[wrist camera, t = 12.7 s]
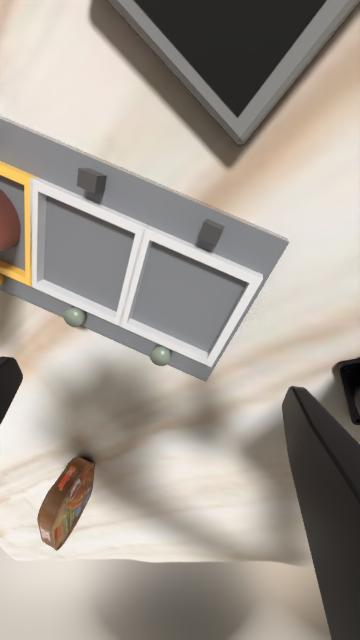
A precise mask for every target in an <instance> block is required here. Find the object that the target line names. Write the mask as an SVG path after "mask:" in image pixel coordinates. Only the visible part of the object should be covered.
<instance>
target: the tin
mask: <svg viewBox="0 0 360 640" xmlns="http://www.w3.org/2000/svg"><path fill="white" fill-rule="evenodd" d="M94 466H95V465H94V463H93V462H89V461H87V460H85V459H83V458H81V457H76V458H74V459H72V460H71V461H70V462H69V463H68V465H67V466H66V468H65V470H64V471H63V472H62V474H61V475H60V477H59V478H58V479H57V481H56V482H55V484H54V485H53V486H52V487H51V489H50V490H49V491H48V493H47V495H46V497H45V499H44V501H43V503H42V505H41V508H40V510H39V514H38V525H39V529H40V533H41V538H42V541H43V542H44V543H46V544H48V545H49V546H51V547H53V548H54V549H55V550H56V551H57V550H58V549H60V548H61V546H62V545H63V544H64V543H65V541H66V540H67V538H68V537H69V535H70V534H71V532H72V530H73V529H74V527H75V525H76V524H77V522H78V520H79V518H80V516H81V514H82V512H83V510H84V508H85V506H86V504H87V502H88V500H89V497H90V494H91V491H92V487H93V476H94Z"/></svg>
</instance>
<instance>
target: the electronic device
mask: <svg viewBox="0 0 360 640" xmlns="http://www.w3.org/2000/svg"><path fill="white" fill-rule="evenodd" d="M108 1H109V2H110V3H111V5H112V6H113V7H114V8H115V9H116V10H117V11H118V12H119V13H120V14H121V16H122V17H123V18H124V19H125V20H126V21H127V22H128V23H129V24H130V26H131V27H132V28H133V29H134V30H135V31H136V32H137V33H138V34H139V36H140V37H141V38H142V39H143V40H144V41H145V42H146V43H147V44H148V46H149V47H150V48H151V49H152V50H153V51H154V52H155V53H156V54H157V56H158V57H159V58H160V59H161V60H162V61H163V62H164V63H165V64H166V66H167V67H168V68H169V69H170V70H171V71H172V72H173V73H174V74H175V76H176V77H177V78H178V79H179V80H180V81H181V82H182V83H183V84H184V86H185V87H186V88H187V89H188V90H189V91H190V92H191V93H192V94H193V96H194V97H195V98H196V99H197V100H198V101H199V102H200V103H201V104H202V105H203V107H204V108H205V109H206V110H207V111H208V112H209V113H210V114H211V115H212V117H213V118H214V119H215V120H216V121H217V122H218V123H219V124H220V125H221V127H222V128H223V129H224V130H225V131H226V132H227V133H228V134H229V135H230V137H231V138H232V139H233V140H234V141H235V142H236V143H237V144H238V145H241V144H244V143H245V142H246V141H247V140H248V139H249V137H250V136H251V135H252V134H253V132H254V131H255V130H256V129H257V127H258V126H259V125H260V124H261V123H262V121H263V120H264V119H265V118H266V116H267V115H268V114H269V113H270V111H271V110H272V109H273V108H274V107H275V105H276V104H277V103H278V102H279V100H280V99H281V98H282V97H283V95H284V94H285V93H286V92H287V91H288V89H289V88H290V87H291V86H292V84H293V83H294V82H295V81H296V79H297V78H298V77H299V76H300V75H301V73H302V72H303V71H304V70H305V68H306V67H307V66H308V65H309V63H310V62H311V61H312V60H313V59H314V57H315V56H316V55H317V54H318V52H319V51H320V50H321V49H322V47H323V46H324V45H325V44H326V43H327V41H328V40H329V39H330V38H331V36H332V35H333V34H334V33H335V31H336V30H337V29H338V28H339V27H340V25H341V24H342V23H343V22H344V20H345V19H346V18H347V17H348V16H349V14H350V13H351V12H352V11H353V9H354V8H355V7H356V6H357V4H358V3H359V2H360V0H108Z"/></svg>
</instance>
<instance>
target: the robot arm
mask: <svg viewBox="0 0 360 640" xmlns="http://www.w3.org/2000/svg"><path fill="white" fill-rule="evenodd" d="M346 367H349V368H348V369H344V368H346ZM338 369H339V373H340V378H341V382H342V386H343V390H344V394H345V398H346V402H347V406H348V410H349V415H350V418H351V421H352V423H353V424H356V425H360V359H355V360H349V361H344V362H341V363H340V364H339V365H338ZM22 379H23V374H22V372H21V370H20V367H19V365H18V363H17V361H16V359H14V358H12V357H0V424H1V422H2V420H3V419H4V417H5V415H6V413H7V411H8V409H9V407H10V405H11V403H12V401H13V398H14V396H15V394H16V392H17V390H18V388H19V386H20V384H21V382H22ZM282 412H283V420H284V428H285V436H286V444H287V451H288V458H289V463H290V467H291V472H292V476H293V480H294V484H295V488H296V492H297V497H298V501H299V505H300V509H301V513H302V518H303V522H304V526H305V530H306V534H307V539H308V543H309V547H310V551H311V555H312V559H313V564H314V568H315V572H316V576H317V580H318V584H319V589H320V593H321V597H322V601H323V606H324V610H325V614H326V618H327V622H328V626H329V630H330V635H331V639H332V640H360V444H359V443H358V442H357V441H356V440H355V439H354V438H353V437H352V436H351V435H350V434H349V433H348V432H347V431H346V430H345V429H344V428H343V427H342V426H341V425H340V424H339V423H338V422H337V421H336V420H335V418H334V417H333V416H332V415H331V414H330V413H329V412H328V411H327V410H326V409H325V408H324V407H323V406H322V405H321V404H320V403H319V402H318V401H317V400H316V399H315V398H314V397H313V396H312V395H311V394H310V393H309V392H308V391H307V390H306V389H305V388H303V387H296V386H291V387H290V388H289V389H288V391H287V394H286V396H285V398H284V401H283V404H282Z"/></svg>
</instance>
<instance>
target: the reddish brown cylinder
mask: <svg viewBox="0 0 360 640" xmlns="http://www.w3.org/2000/svg"><path fill="white" fill-rule="evenodd" d="M20 234H21V226H20V220H19V216H18V214H17V211H16V209H15V207H14V205H13V203H12V202H11V200H10V199H9V198H8V196H7V195H6V194H5V193H4V192H3V191H2V190H1V189H0V251H3V250H6V249H9V248H12V247H13V246H15V245H16V244H17V242H18V241H19V238H20Z"/></svg>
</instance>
